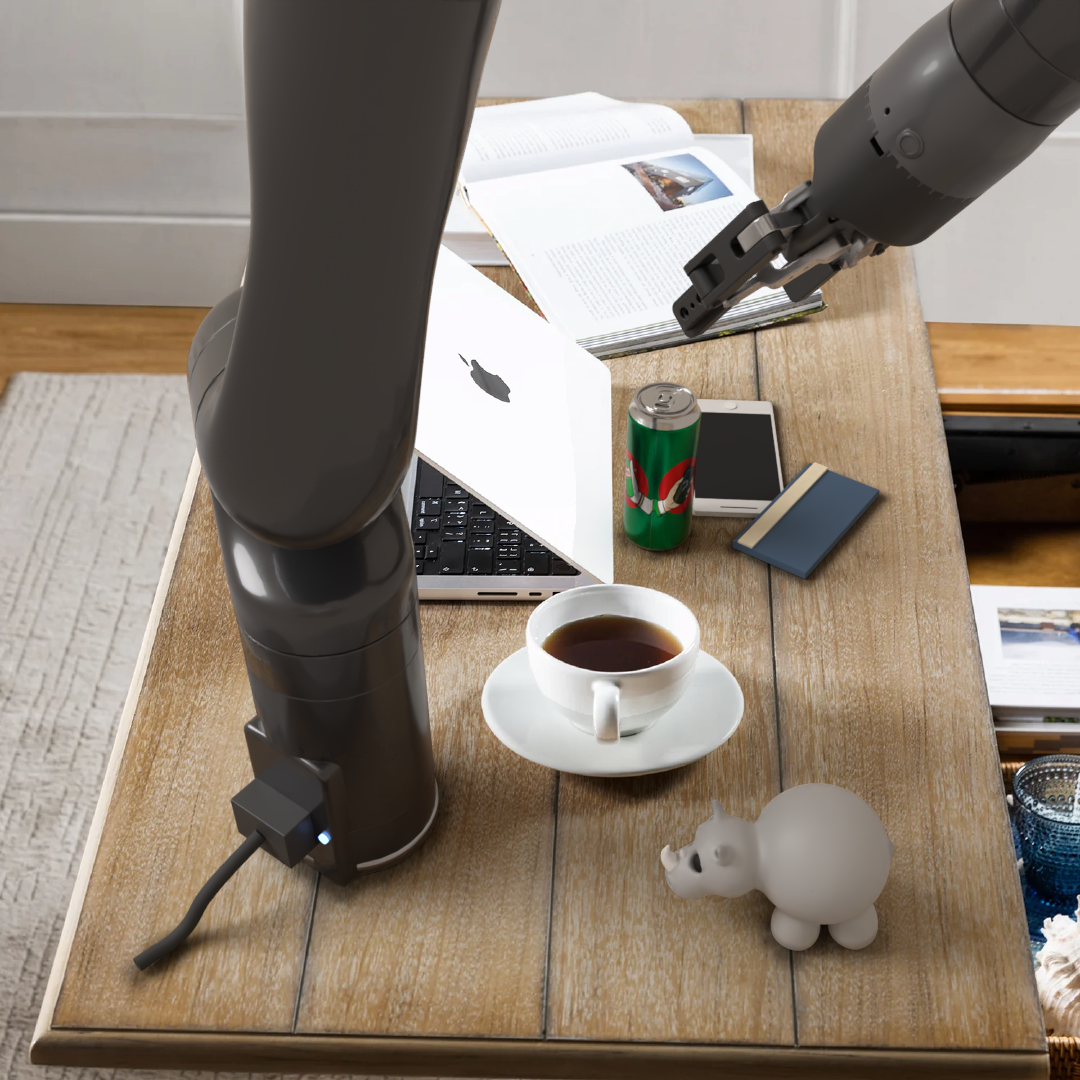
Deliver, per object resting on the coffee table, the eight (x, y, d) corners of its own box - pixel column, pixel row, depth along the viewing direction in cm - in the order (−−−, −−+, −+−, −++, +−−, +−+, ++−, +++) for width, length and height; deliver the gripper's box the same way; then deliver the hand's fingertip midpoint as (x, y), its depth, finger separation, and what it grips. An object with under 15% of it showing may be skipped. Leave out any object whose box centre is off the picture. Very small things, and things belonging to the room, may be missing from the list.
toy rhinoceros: (652, 851, 73) (660, 753, 68) (863, 854, 73) (888, 755, 67) (659, 964, 67) (668, 866, 62) (887, 967, 67) (916, 869, 62)
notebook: (805, 579, 91) (806, 570, 90) (731, 547, 94) (733, 538, 93) (878, 496, 98) (880, 487, 98) (808, 469, 101) (810, 460, 100)
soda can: (696, 518, 96) (708, 384, 89) (683, 560, 93) (695, 424, 85) (630, 507, 97) (637, 373, 90) (615, 548, 94) (621, 412, 86)
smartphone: (770, 409, 108) (772, 400, 108) (785, 523, 97) (787, 513, 96) (686, 406, 109) (687, 397, 108) (691, 519, 97) (691, 509, 96)
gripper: (986, 39, 63) (788, 225, 76) (795, 75, 55) (611, 275, 68) (1065, 167, 62) (850, 332, 75) (882, 222, 54) (679, 396, 67)
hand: (737, 305), depth 72 cm, fingers open, 8 cm apart
